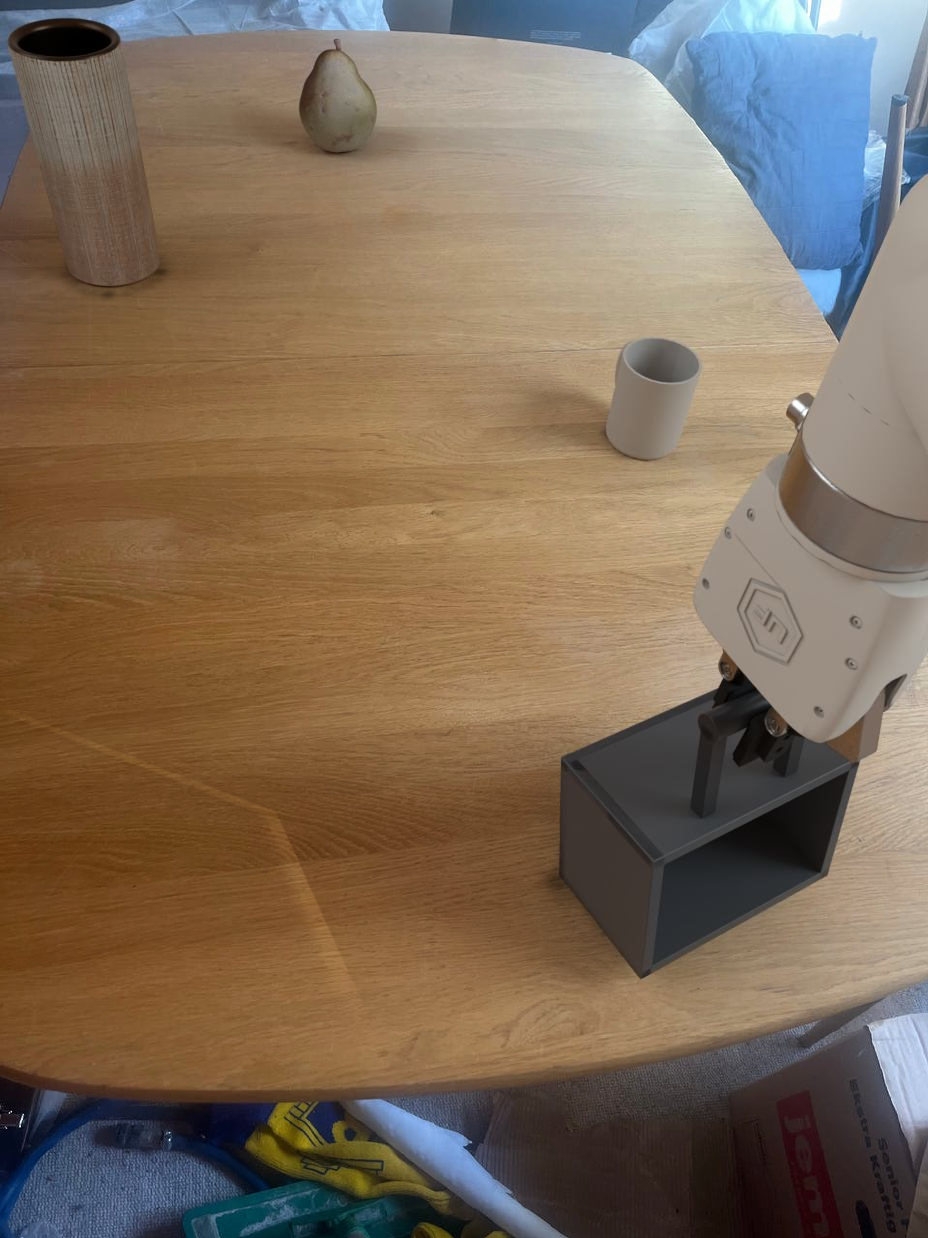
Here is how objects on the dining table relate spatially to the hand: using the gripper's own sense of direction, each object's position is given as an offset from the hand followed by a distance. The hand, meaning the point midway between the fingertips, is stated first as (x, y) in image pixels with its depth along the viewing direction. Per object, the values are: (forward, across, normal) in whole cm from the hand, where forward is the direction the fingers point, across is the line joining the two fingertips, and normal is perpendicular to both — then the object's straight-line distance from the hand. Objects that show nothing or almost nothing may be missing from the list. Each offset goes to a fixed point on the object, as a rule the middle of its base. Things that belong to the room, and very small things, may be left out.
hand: (743, 735), depth 53 cm
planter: (+16, -86, -14) cm, 89 cm away
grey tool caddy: (+7, -5, 0) cm, 9 cm away
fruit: (+17, -104, +21) cm, 108 cm away
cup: (+16, -39, +24) cm, 49 cm away
